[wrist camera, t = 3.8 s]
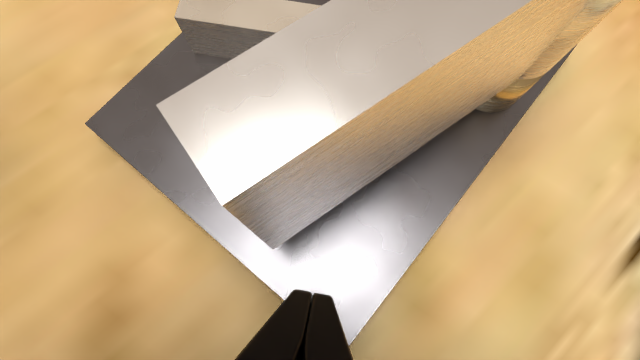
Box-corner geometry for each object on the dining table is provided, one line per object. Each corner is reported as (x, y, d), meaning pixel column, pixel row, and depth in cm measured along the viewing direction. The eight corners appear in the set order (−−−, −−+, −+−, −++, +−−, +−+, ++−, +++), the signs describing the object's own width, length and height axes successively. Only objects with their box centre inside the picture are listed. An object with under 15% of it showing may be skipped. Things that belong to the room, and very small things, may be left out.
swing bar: (521, 0, 15) (683, -232, 8) (573, 53, 15) (794, -150, 8) (233, 189, 13) (143, 86, 6) (280, 260, 13) (235, 227, 6)
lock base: (341, 348, 16) (348, 365, 12) (99, 134, 18) (47, 97, 14) (567, 50, 19) (622, -3, 16) (341, -96, 22) (345, -171, 18)
